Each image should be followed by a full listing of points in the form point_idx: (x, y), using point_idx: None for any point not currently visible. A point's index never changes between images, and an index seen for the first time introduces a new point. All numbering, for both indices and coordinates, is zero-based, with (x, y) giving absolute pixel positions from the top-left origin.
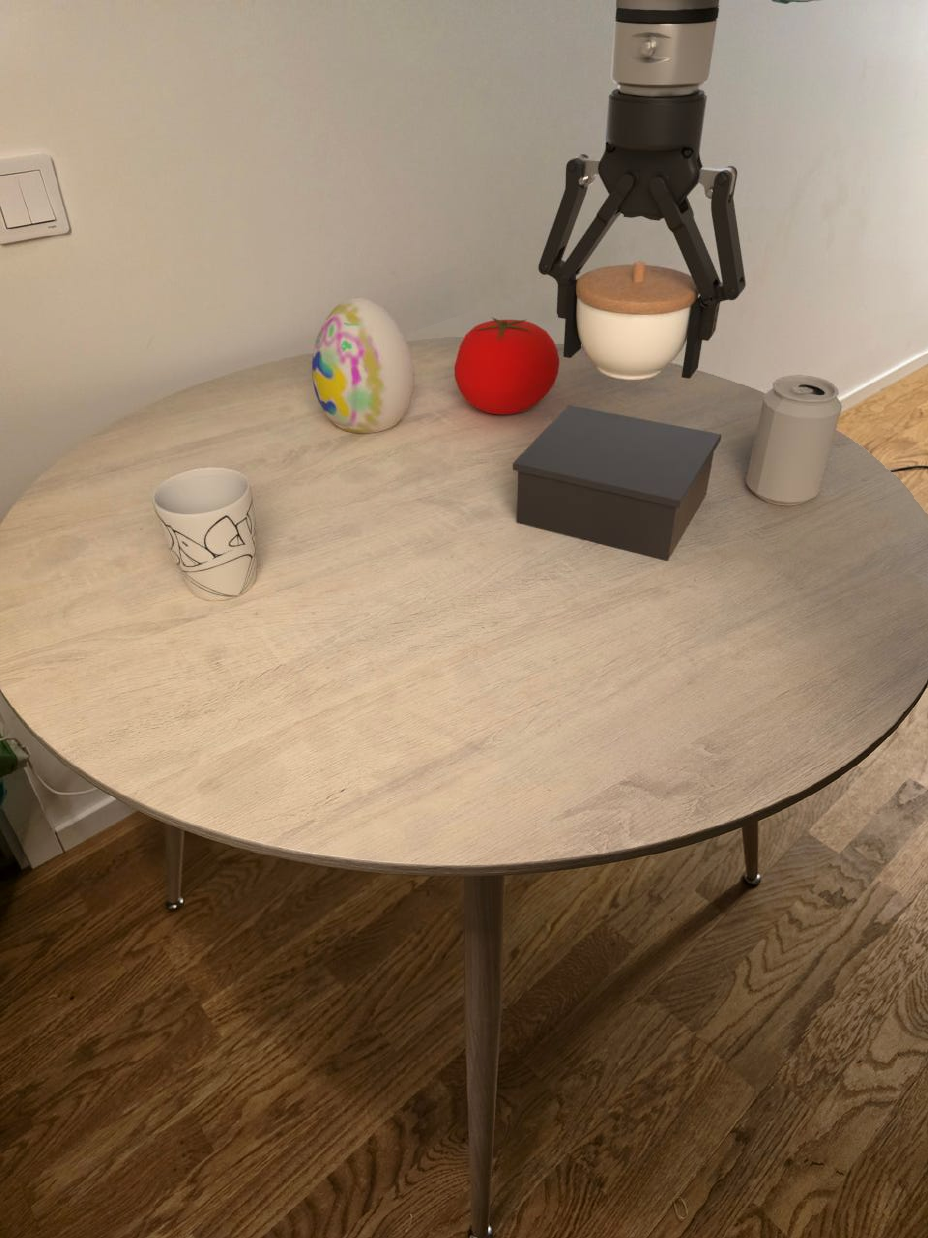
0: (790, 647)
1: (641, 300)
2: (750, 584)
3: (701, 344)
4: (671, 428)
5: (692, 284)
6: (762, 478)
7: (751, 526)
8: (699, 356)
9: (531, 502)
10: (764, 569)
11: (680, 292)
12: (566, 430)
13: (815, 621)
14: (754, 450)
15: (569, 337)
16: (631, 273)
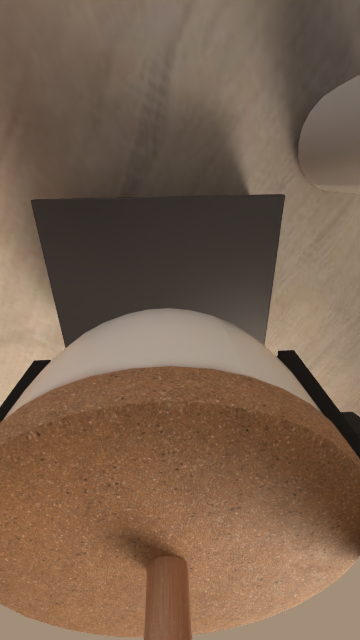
0: (335, 382)
1: (228, 628)
2: (307, 331)
3: (315, 379)
4: (210, 211)
5: (354, 524)
6: (326, 186)
7: (305, 242)
8: (303, 365)
9: None
10: (318, 307)
11: (319, 578)
12: (79, 286)
13: (355, 352)
14: (324, 160)
15: None
16: (113, 531)
